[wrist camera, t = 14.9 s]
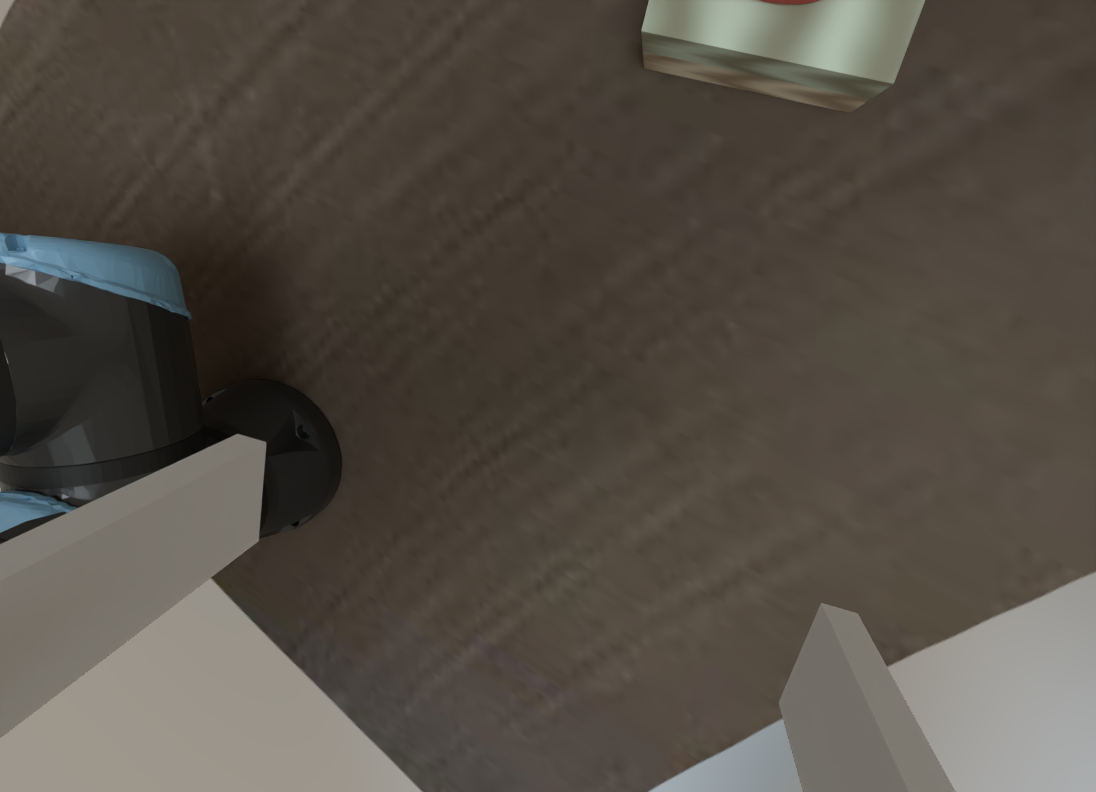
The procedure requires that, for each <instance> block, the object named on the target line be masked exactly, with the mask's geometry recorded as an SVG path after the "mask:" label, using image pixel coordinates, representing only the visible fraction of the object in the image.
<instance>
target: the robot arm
mask: <svg viewBox="0 0 1096 792" xmlns="http://www.w3.org/2000/svg"><path fill="white" fill-rule="evenodd" d="M189 320H192V318H191V313H190V312H189V311H188V310H187V309H186V304H185V300H184V295H183V290H182V285H181V280H180V276H179V272H178V270H177V268H176V267H175V265H174V264H173V263H172V262H171V261H170V260H169V259H168V258H167V257H165V256H164V255H162V254H160V253H158V252H156V251H153V250H149V249H144V248H138V247H132V246H126V245H119V244H111V243H103V242H95V241H86V240H77V239H67V238H58V237H47V236H36V235H27V236H24V235H21V234H10V233H0V488H1V492H0V738H1V737H2V736H4V735H5V734H6V733H7V732H9V731H10V730H12V729H13V728H14V727H15V726H17V725H18V724H19V723H21V722H22V721H23V720H25V719H26V718H27V717H29V716H30V715H31V714H32V713H34V712H35V711H36V710H38V709H39V708H40V707H42V706H43V705H44V704H46V703H47V702H48V701H50V700H51V699H52V698H53V697H55V696H56V695H57V694H59V693H60V692H61V691H63V690H64V689H65V688H66V687H68V686H69V685H71V684H72V683H73V682H74V681H76V680H77V679H78V678H80V677H81V676H82V675H84V674H85V673H86V672H88V671H89V670H90V669H91V668H93V667H94V666H95V665H97V664H98V663H99V662H101V661H102V660H103V659H105V658H106V657H107V656H109V655H110V654H111V653H112V652H114V651H115V650H116V649H118V648H119V647H120V646H122V645H123V644H124V643H126V642H127V641H128V640H130V639H131V638H132V637H134V636H135V635H136V634H137V633H139V632H140V631H141V630H143V629H144V628H145V627H147V626H148V625H149V624H151V623H152V622H153V621H154V620H156V619H157V618H158V617H160V616H161V615H162V614H163V613H165V612H166V611H167V610H169V609H170V608H172V607H173V606H174V605H175V604H177V603H178V602H179V601H181V600H182V599H183V598H184V597H186V596H187V595H189V594H190V593H191V592H192V591H194V590H195V589H196V588H198V587H199V586H200V585H202V584H203V583H204V582H206V581H207V580H208V579H210V578H211V577H212V576H214V575H215V574H216V573H217V572H219V571H220V570H221V569H223V568H224V567H225V566H227V565H228V564H229V563H231V562H232V561H233V560H235V559H236V558H237V557H238V556H240V555H241V554H242V553H244V552H245V551H246V550H248V549H249V548H250V547H252V546H253V545H254V544H256V543H257V542H258V541H259V539H260V538H264V537H267V536H271V535H274V534H277V533H281V532H286V531H289V530H292V529H295V528H297V527H299V526H301V525H303V524H305V523H306V522H308V521H309V520H311V519H312V518H313V517H314V516H316V515H317V514H318V513H319V512H321V511H322V510H323V509H324V508H325V507H326V506H327V505H328V504H329V502H330V501H331V500H332V498H333V496H334V495H335V492H336V490H337V487H338V484H339V481H340V475H341V458H340V451H339V447H338V443H337V440H336V437H335V435H334V433H333V431H332V429H331V427H330V425H329V423H328V421H327V420H326V418H325V417H324V416H323V414H322V413H321V412H320V411H319V409H318V408H317V407H316V406H315V405H314V404H313V403H312V402H311V401H310V400H308V399H307V398H306V397H305V396H303V395H302V394H300V393H299V392H297V391H296V390H294V389H292V388H290V387H288V386H286V385H283V384H281V383H278V382H274V381H269V380H247V381H242V382H239V383H236V384H233V385H230V386H227V387H224V388H222V389H220V390H218V391H216V392H214V393H212V394H211V395H209V396H208V397H207V398H206V399H204V400H203V401H201V395H200V388H199V382H198V375H197V369H196V362H195V356H194V349H193V343H192V336H191V330H190V323H189ZM779 706H780V709H781V713H782V717H783V720H784V724H785V728H786V731H787V735H788V739H789V742H790V746H791V749H792V753H793V757H794V761H795V764H796V768H797V772H798V775H799V779H800V783H801V786H802V790H803V792H955V790H954V788H953V786H952V785H951V783H950V781H949V779H948V777H947V776H946V774H945V772H944V770H943V769H942V766H941V765H940V763H939V761H938V759H937V758H936V755H935V754H934V752H933V750H932V748H931V746H930V745H929V743H928V741H927V739H926V737H925V736H924V734H923V732H922V730H921V728H920V726H919V725H918V723H917V721H916V719H915V717H914V715H913V714H912V712H911V710H910V708H909V706H908V705H907V703H906V701H905V699H904V697H903V695H902V694H901V692H900V690H899V688H898V686H897V685H896V683H895V681H894V679H893V677H892V675H891V674H890V672H889V670H888V668H887V666H886V664H885V663H884V661H883V659H882V657H881V655H880V654H879V652H878V650H877V648H876V646H875V644H874V643H873V641H872V639H871V637H870V635H869V634H868V632H867V630H866V628H865V626H864V624H863V623H862V621H861V619H860V617H859V615H858V614H857V613H854V612H851V611H847V610H844V609H840V608H837V607H833V606H830V605H827V604H823V603H821V605H820V607H819V609H818V612H817V614H816V616H815V619H814V621H813V623H812V626H811V628H810V630H809V633H808V635H807V637H806V640H805V642H804V644H803V647H802V649H801V651H800V654H799V656H798V658H797V661H796V663H795V665H794V668H793V670H792V673H791V675H790V677H789V680H788V682H787V684H786V687H785V689H784V691H783V694H782V696H781V698H780V701H779Z"/></svg>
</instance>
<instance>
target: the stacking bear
mask: <svg viewBox="0 0 1096 792" xmlns="http://www.w3.org/2000/svg"><path fill="white" fill-rule="evenodd" d="M761 1H764V2H770V3H777V4H806V3H812V2H816V1H819V0H761Z"/></svg>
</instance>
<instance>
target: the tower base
mask: <svg viewBox="0 0 1096 792" xmlns="http://www.w3.org/2000/svg"><path fill="white" fill-rule="evenodd" d="M924 2H925V0H819V1H816V2H812V3H806V4H777V3H770V2H764V1H761V0H649V2H648V6H647V10H646V14H645V18H644V22H643V26H642V30H641V34H642V47H643V60H644V69H649V70H653V71H658V72H662V73H667V74H672V75H676V76H681V77H686V78H690V79H695V80H699V81H704V82H709V83H713V84H718V85H723V86H727V87H732V88H736V89H741V90H746V91H750V92H755V93H760V94H764V95H769V96H773V97H778V98H783V99H787V100H792V101H797V102H801V103H806V104H810V105H815V106H820V107H824V108H829V109H834V110H838V111H843V112H847V113H851V112H852V111H854V110H855V109H857V108H858V107H860V106H861V105H863V104H864V103H866V102H867V101H869V100H870V99H872V98H873V97H875V96H876V95H878V94H879V93H881V92H882V91H884V90H885V89H887V88H888V87H890V86H891V85H893V84H894V82H895V79H896V76H897V74H898V71H899V68H900V66H901V63H902V60H903V58H904V55H905V52H906V50H907V47H908V44H909V42H910V39H911V36H912V34H913V31H914V28H915V26H916V23H917V20H918V18H919V15H920V12H921V10H922V7H923V4H924Z"/></svg>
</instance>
